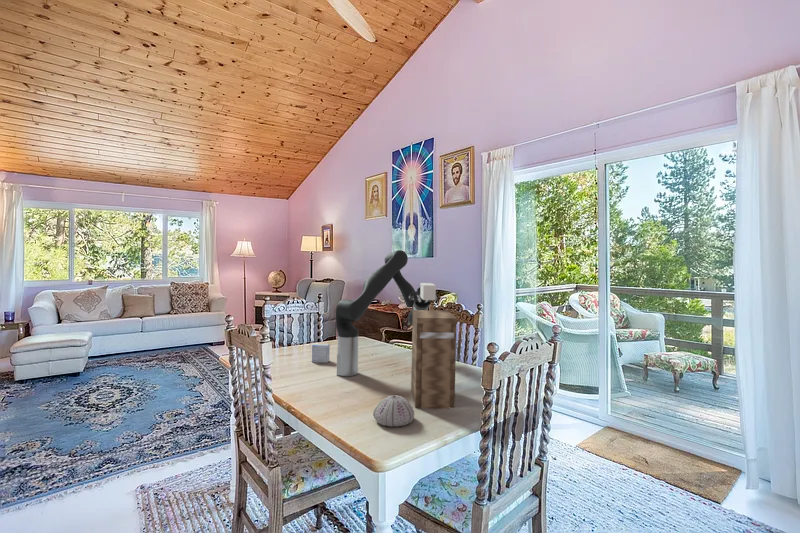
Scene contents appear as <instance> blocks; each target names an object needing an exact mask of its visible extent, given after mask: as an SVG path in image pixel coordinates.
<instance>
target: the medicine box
mask: <svg viewBox="0 0 800 533" xmlns="http://www.w3.org/2000/svg"><path fill="white" fill-rule="evenodd" d="M330 345H331V344H330V343H317V342H316V343H313V344H312V345H311V363H319V364H320V363H322V364H326V363H327V364H328V362H330Z"/></svg>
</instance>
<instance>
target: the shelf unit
mask: <svg viewBox="0 0 800 533" xmlns="http://www.w3.org/2000/svg"><path fill="white" fill-rule="evenodd" d="M457 324H458V318H457V316H455V315H453V313H451V312H450V311H449V310H446V309H445V310H440V309H439V310H438V309H437V310H436V309H435V310H433V309H431V310H413V325H412V324H411V325H412V331H411V334H412V335H411V375H410V376H411V382H410V391H411V396H412V399H413V400H412V401H413V404H414V408H417V409H419V408H420V409H421V410H424V409H425V410H436V409H437V410H439V409H440V410H441V409H442V410H446V409H447V410H449V409H451V408H452V409H454V408H455V401H456V356H457V353H456V352H457Z"/></svg>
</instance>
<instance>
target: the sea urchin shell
mask: <svg viewBox="0 0 800 533" xmlns="http://www.w3.org/2000/svg"><path fill="white" fill-rule="evenodd" d="M372 413H373V419H374V420H375V421H376V422H377V424H378V423H379V425H381V426H384V427H386V426H387V427H391V428H392V427H395V428H396V427H403V426H406V425H409V424H410V423H412V421H413V420H414V418H415V410H414V406H412V404H411V403H410V401H408V399H406V398H405V397H403V396H401V395H395V394H394V395H393V394H391V395H387V396H385V398H383V399H381V400H380V401H379V402H378V403H377V404H376V406H375V407H374V409H373V412H372Z"/></svg>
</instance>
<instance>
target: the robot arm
mask: <svg viewBox="0 0 800 533" xmlns="http://www.w3.org/2000/svg"><path fill="white" fill-rule="evenodd" d="M408 258H409V257H408V254H407V252H405V251H404V250H400V249H398V250H394V251H393V252H390V253H388V254H387V255H385V257H384V264H383V265H382V266H380V267H379V268H377V269H376V270H375V271H373V272H372V273H371V274H370V275H369V276H368V277H367V278H365V281H364V282H363V285H362V293H361V294H360V295H359V296H358V297H357V298H356V299H341V300H339V302H338V303H337V305H336V309H335V326H336V328H335V329H336V332H337V353H336V376H342V377H353V376H357V375H358V374H359V335H360V334H359V333H360V332H359V329H358V328H357V327H356V326H354V324H353V323H352V322H357V321H358V320H360V319H361V318H362V316H363V315H364V314H365V312H366V311H367V309H368V308H369V307H370V305H371V304H372V302H374V300H375V299H376V297H377V296H378V295H379V294H380V293H381V292H382V291H383V290H384V289H385V288H386V286H387V285H388V284H389V283H390V282H391V280H392V279H393V281H394V282H395V284H396V285H397V287H398V289H399V291H400V293H401V295H402V297H403V300H404V303H405V305H406V307H407V308H412V309H411V310H410V311H409V312H408V314H407V318H408V322H409V324H411V325H413V310H428V309H429V308H430V304H431V302H432V301H433V300H423V299H422V298H421V297H420V287H421V286H420V287H418V288H417V290H415V288H414V286H413V285H412V284H411V283H410V282H409V281H408V280H406V279H405V277H404V276H403V275H402V273H401V270H403V268H405V267H406V265H407V263H408V260H409V259H408ZM434 301H435V302H437V301H438V295H437V294H436V299H435V300H434Z"/></svg>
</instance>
